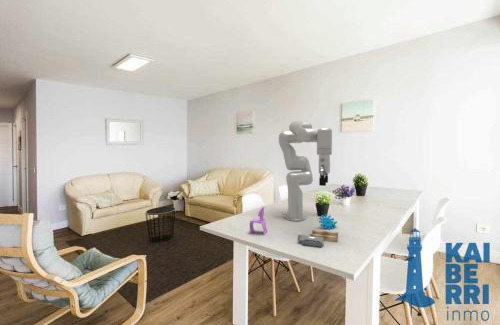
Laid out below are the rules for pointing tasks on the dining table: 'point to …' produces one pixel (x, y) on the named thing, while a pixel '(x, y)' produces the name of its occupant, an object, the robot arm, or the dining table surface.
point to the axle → (310, 238)
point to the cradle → (312, 244)
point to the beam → (326, 235)
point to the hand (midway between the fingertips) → (323, 184)
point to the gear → (327, 222)
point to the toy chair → (259, 221)
